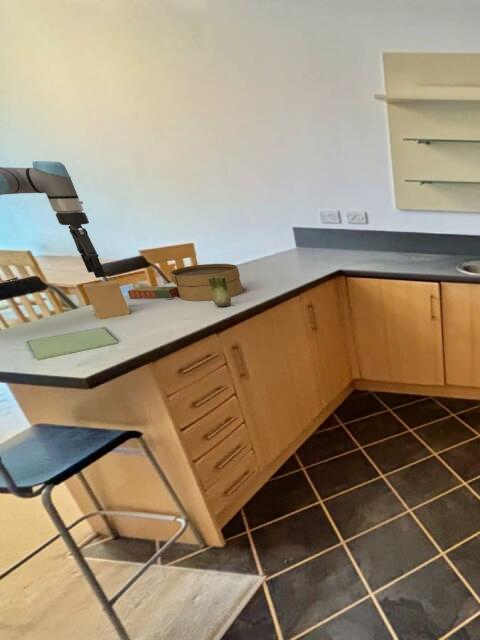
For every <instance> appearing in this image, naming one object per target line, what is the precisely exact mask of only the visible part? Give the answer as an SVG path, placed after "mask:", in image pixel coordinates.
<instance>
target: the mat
mask: <svg viewBox="0 0 480 640" xmlns="http://www.w3.org/2000/svg"><path fill="white" fill-rule="evenodd" d="M28 344H29V345H30V348H31V350H32V352H33V354H34V356H35V358H36V360H37V361H41V360H45V359H50V358H54V357H55V358H56V357H59V356H64V355H68V354H75V353H78V352H83V351H84V352H85V351H89V350H93V349H99V348H104V347H107V346H108V347H109V346H113V345H118V344H119V342H118V341H117V340H116V339H115V337H113V336H112V335H111V334H110V333H109V332H108V331H107V330H106V329H105V328H96V329H92V330H85V331H81V332H80V331H79V332H75V333H70V334H64V335H59V336H53V337H47V338H41V339H36V340H32V341H31V340H30V341H28Z"/></svg>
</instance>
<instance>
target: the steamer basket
mask: <svg viewBox="0 0 480 640" xmlns="http://www.w3.org/2000/svg"><path fill="white" fill-rule="evenodd" d="M170 276H171V279H172V283H173V284H174V285H176V286H177V289H178V292H179V295H180V296H179V298H180V299H181V300H183V301H189V302H206V301H213V297H212V290H211V286H210V283H209V281H208V278H212V277H215V280H216V278H217V277H220V280H221V283H222V279H221V278H225V280H226V284H227V287H228V290H229V293H230V297H231V298H233V297H234V296H238V295H240V294H241V293H243V292H244V288H243V285H242V281H241V278H240V277H241V275H240V271H239V268H238V266H237V265H236V264H231V263H206V264H205V263H204V264H195V265H188V266H182V267H179V268H175V269H174V270H172V271H170ZM212 281H213V280H212ZM216 282H217V280H216ZM217 285H218V283H217ZM176 286H175V287H176ZM222 286H223V284H222ZM218 287H219V286H218Z"/></svg>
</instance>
